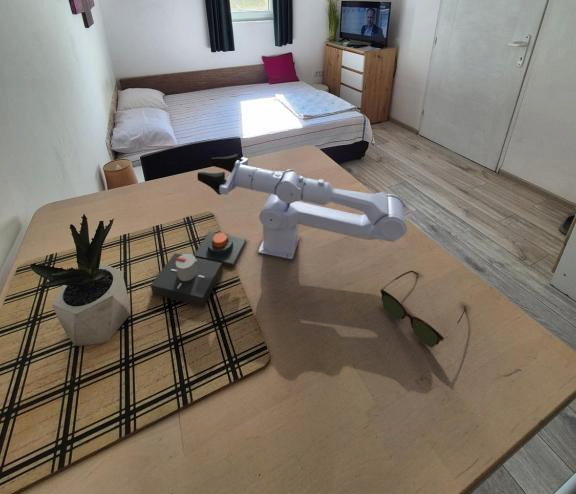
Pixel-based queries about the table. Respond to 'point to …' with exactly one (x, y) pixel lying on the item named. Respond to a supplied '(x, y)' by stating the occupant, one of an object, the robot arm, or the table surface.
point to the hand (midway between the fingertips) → (205, 168)
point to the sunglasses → (412, 318)
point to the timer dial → (186, 267)
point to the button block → (221, 250)
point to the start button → (219, 240)
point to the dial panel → (187, 282)
